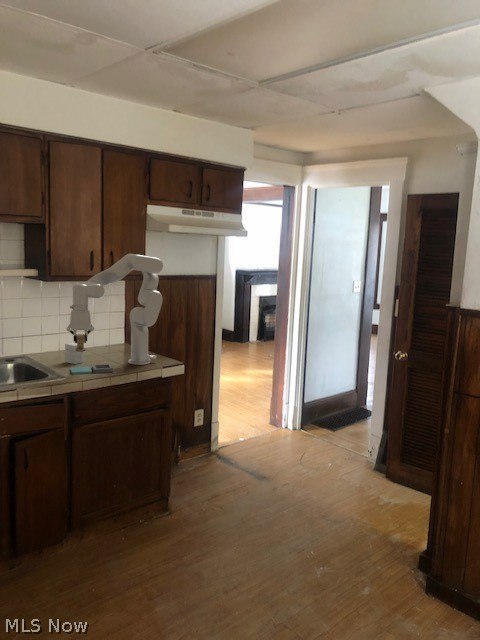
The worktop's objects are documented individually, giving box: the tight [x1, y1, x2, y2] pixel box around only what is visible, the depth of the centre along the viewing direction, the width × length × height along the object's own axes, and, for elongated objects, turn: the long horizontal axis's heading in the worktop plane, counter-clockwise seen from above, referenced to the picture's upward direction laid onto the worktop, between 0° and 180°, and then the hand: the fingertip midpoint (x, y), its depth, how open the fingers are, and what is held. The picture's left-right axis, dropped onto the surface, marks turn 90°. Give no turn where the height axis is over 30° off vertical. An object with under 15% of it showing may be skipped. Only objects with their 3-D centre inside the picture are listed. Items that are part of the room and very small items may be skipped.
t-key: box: [75, 333, 86, 352], centre depth 275 cm, size 9×5×8 cm, turn 21°
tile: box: [69, 366, 93, 375], centre depth 278 cm, size 10×10×1 cm
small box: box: [64, 342, 84, 365], centre depth 295 cm, size 8×6×10 cm
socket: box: [91, 363, 115, 374], centre depth 282 cm, size 10×10×2 cm
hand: (80, 342), depth 275 cm, fingers closed on t-key, 4 cm apart
